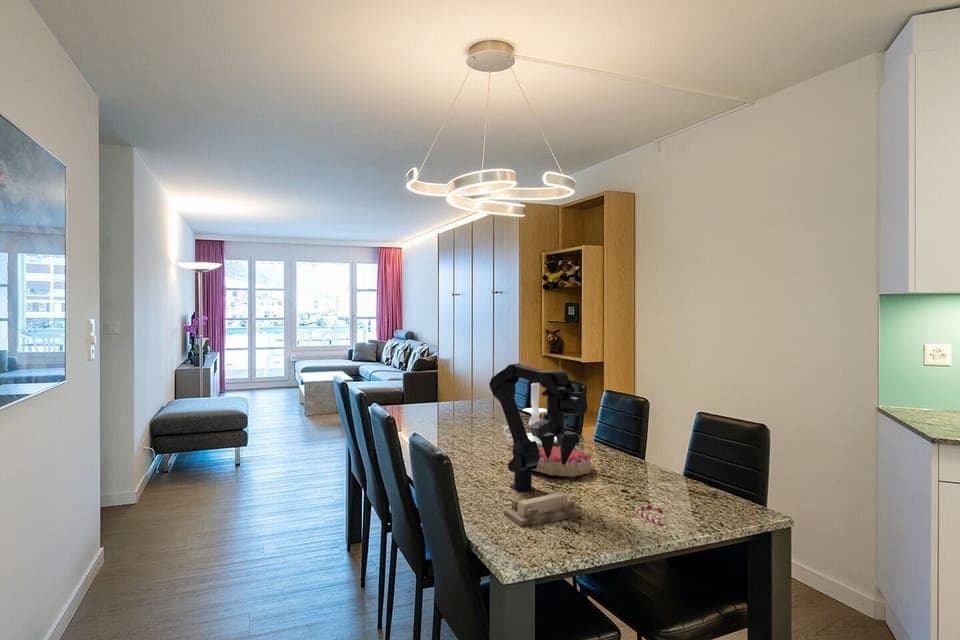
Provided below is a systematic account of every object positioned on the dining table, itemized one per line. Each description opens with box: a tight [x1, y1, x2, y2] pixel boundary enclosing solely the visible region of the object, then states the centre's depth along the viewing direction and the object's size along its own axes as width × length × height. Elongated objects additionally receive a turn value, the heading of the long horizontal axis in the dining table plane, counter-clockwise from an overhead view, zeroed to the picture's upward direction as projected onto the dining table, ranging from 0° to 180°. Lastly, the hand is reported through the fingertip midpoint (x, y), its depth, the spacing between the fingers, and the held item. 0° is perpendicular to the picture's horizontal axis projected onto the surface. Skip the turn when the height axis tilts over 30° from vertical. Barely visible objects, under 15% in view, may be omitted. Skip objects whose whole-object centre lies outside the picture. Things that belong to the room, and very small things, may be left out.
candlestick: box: [502, 382, 558, 447], centre depth 255 cm, size 21×25×28 cm
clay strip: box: [518, 491, 568, 517], centre depth 166 cm, size 16×3×4 cm, turn 123°
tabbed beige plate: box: [503, 493, 583, 527], centre depth 166 cm, size 20×10×4 cm, turn 114°
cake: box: [532, 445, 592, 479], centre depth 215 cm, size 25×25×8 cm
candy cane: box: [635, 504, 663, 527], centre depth 166 cm, size 8×1×15 cm
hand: (555, 461), depth 180 cm, fingers open, 9 cm apart
